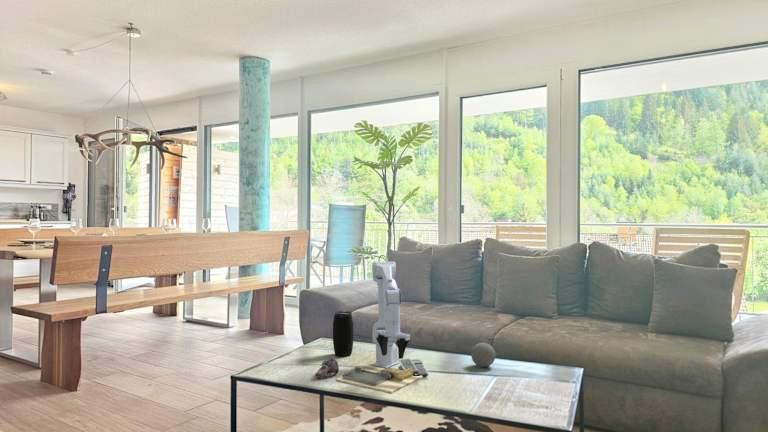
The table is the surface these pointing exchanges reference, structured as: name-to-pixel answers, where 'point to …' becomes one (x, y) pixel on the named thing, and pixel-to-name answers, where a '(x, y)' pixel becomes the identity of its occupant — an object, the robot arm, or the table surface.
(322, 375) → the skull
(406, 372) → the loose leaf
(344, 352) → the portable speaker
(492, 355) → the decorative ball
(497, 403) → the table surface
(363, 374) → the fixed leaf
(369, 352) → the table surface
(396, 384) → the board
